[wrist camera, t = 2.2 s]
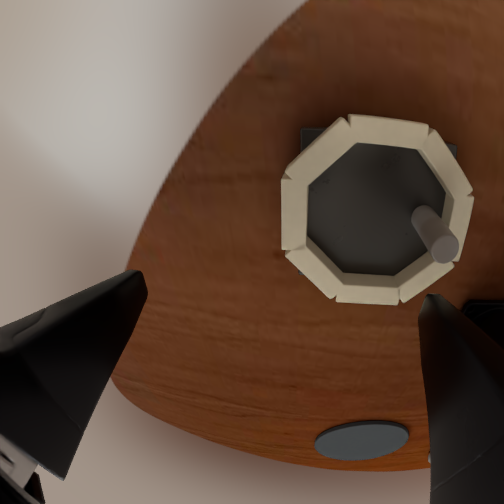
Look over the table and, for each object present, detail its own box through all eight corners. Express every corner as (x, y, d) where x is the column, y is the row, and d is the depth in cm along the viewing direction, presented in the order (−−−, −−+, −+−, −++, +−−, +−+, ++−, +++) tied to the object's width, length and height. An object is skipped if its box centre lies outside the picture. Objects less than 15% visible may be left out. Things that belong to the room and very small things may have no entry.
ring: (471, 132, 10) (482, 136, 9) (438, 294, 15) (443, 307, 14) (282, 111, 12) (279, 112, 11) (283, 285, 17) (281, 298, 16)
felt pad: (423, 418, 23) (423, 422, 22) (390, 456, 28) (390, 459, 28) (321, 419, 25) (321, 423, 25) (309, 455, 31) (309, 458, 30)
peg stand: (450, 142, 12) (492, 161, 8) (426, 273, 16) (447, 323, 12) (301, 126, 13) (293, 136, 10) (299, 265, 17) (291, 316, 13)
